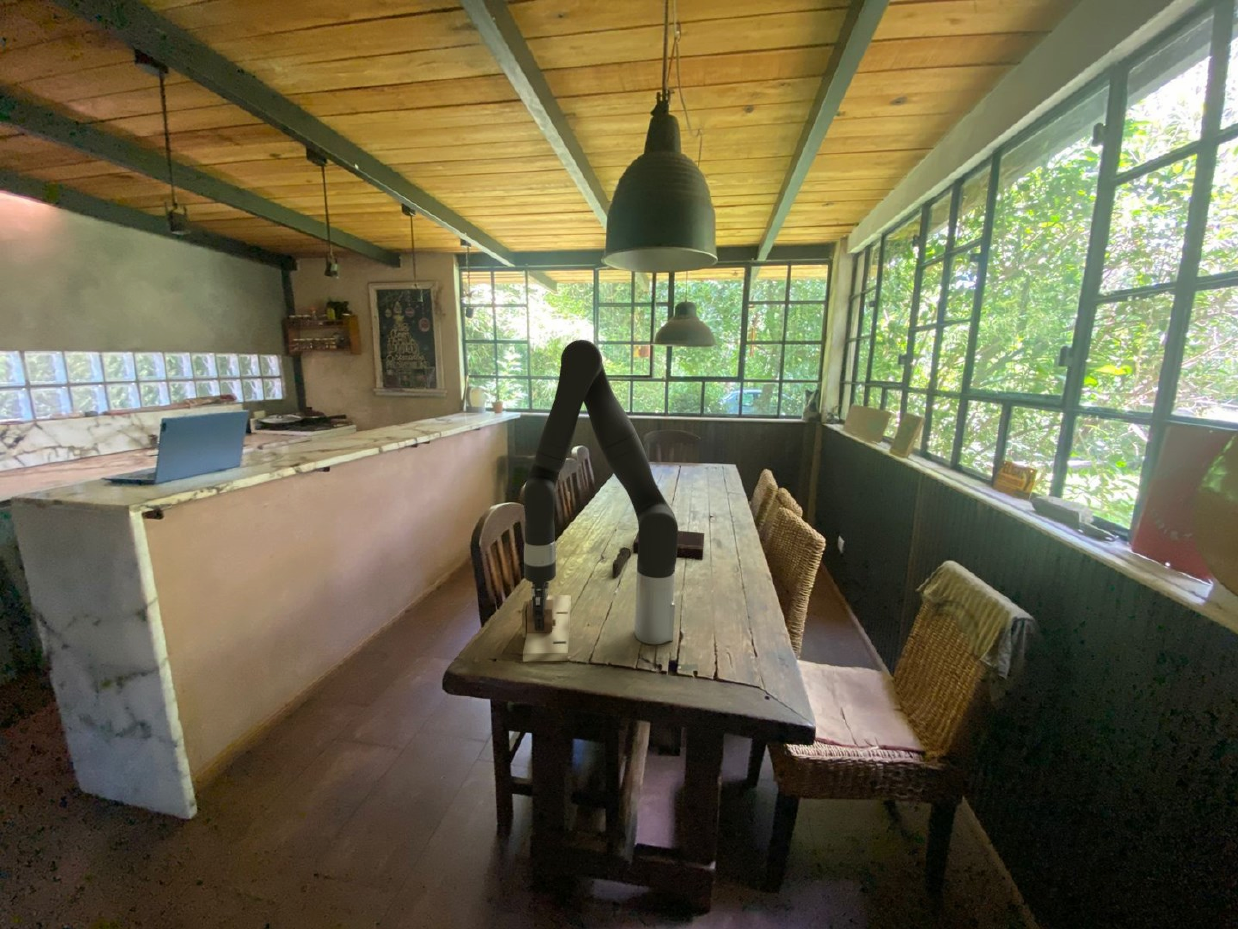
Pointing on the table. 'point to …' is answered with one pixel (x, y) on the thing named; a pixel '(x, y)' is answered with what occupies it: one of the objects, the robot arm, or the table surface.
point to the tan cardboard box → (529, 621)
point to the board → (551, 635)
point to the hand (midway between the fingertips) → (540, 623)
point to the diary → (685, 544)
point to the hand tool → (620, 561)
